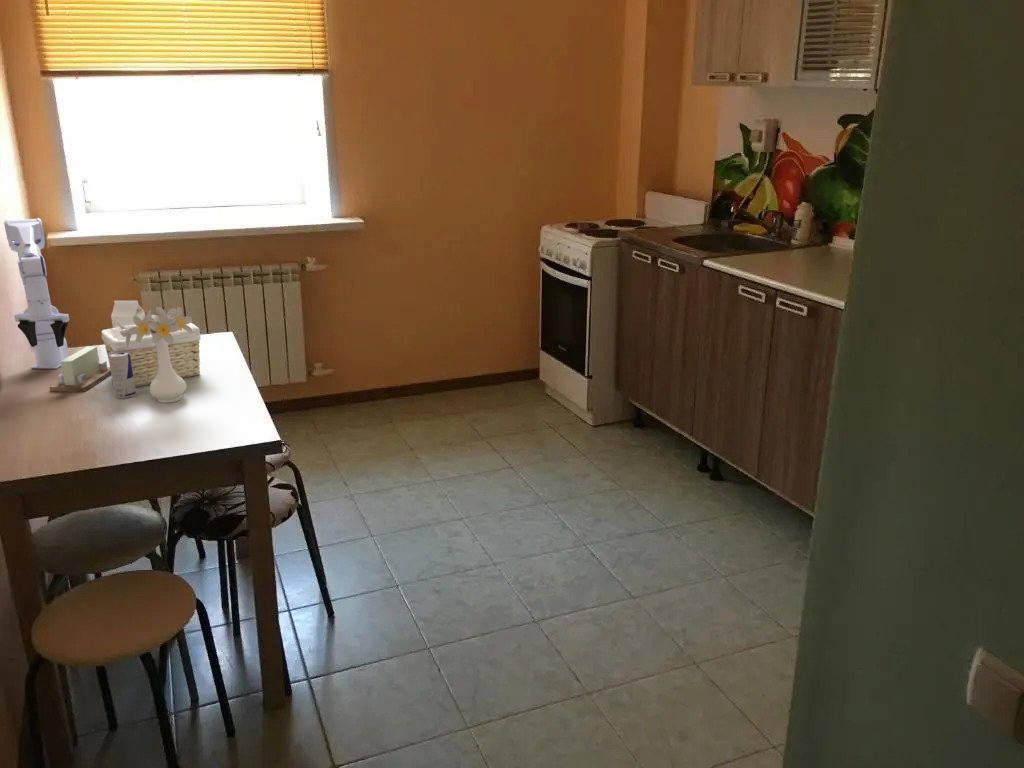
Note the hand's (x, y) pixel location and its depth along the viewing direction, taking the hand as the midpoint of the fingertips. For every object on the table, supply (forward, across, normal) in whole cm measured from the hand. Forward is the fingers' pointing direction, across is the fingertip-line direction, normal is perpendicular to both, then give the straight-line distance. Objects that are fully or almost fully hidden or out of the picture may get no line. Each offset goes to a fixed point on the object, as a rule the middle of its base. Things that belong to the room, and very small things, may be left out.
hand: (47, 346), depth 245 cm
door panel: (+9, +9, 0) cm, 13 cm away
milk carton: (+11, +15, +19) cm, 26 cm away
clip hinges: (+9, +9, 0) cm, 13 cm away
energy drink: (+10, +27, -12) cm, 31 cm away
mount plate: (+10, +9, 0) cm, 14 cm away
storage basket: (+11, +29, +4) cm, 31 cm away
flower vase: (+10, +40, -16) cm, 44 cm away
